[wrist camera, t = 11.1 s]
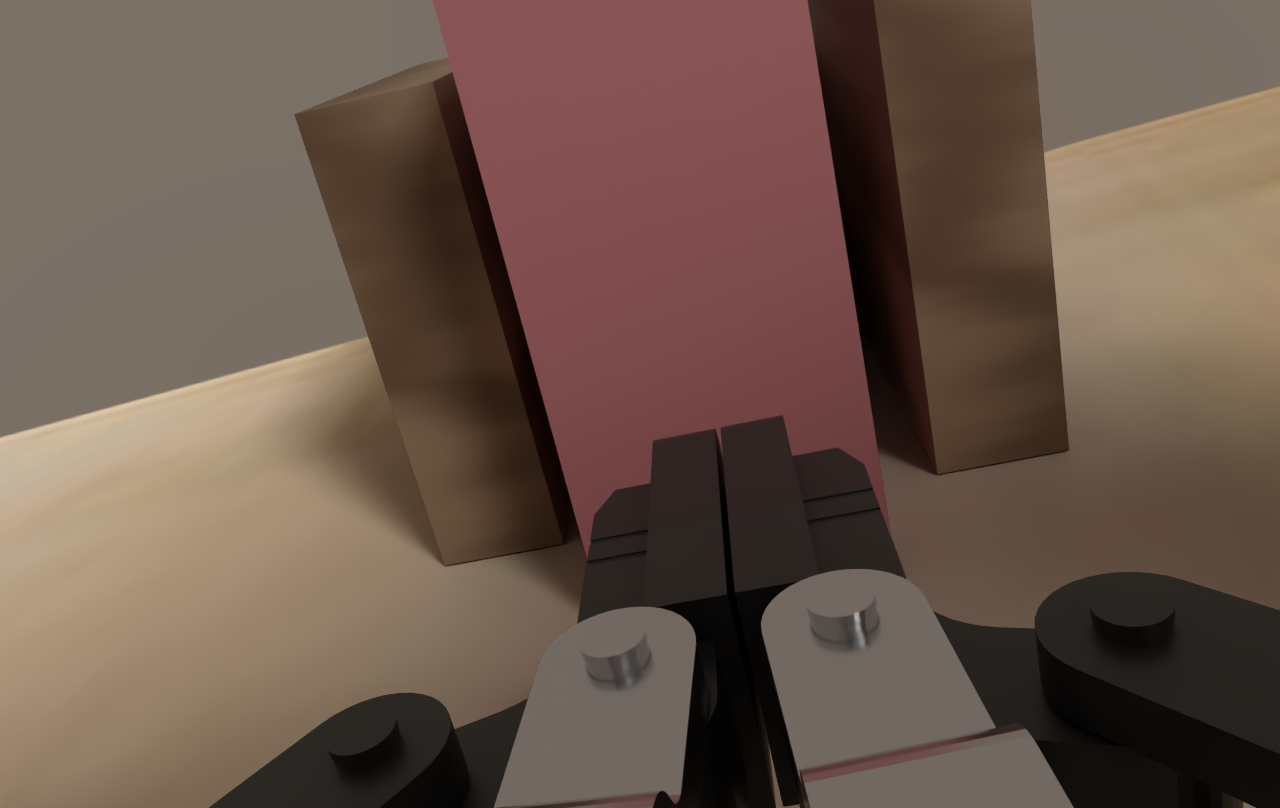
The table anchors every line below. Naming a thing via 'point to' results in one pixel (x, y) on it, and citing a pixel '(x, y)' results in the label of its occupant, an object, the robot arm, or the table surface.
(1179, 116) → the table surface
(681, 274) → the pink rectangular block
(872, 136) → the shelf slot
